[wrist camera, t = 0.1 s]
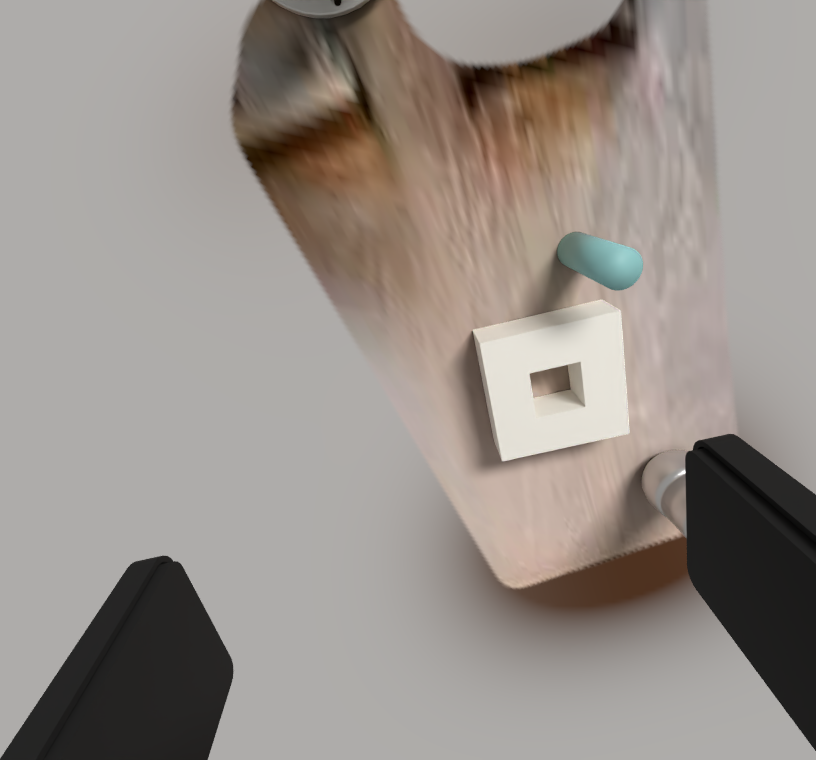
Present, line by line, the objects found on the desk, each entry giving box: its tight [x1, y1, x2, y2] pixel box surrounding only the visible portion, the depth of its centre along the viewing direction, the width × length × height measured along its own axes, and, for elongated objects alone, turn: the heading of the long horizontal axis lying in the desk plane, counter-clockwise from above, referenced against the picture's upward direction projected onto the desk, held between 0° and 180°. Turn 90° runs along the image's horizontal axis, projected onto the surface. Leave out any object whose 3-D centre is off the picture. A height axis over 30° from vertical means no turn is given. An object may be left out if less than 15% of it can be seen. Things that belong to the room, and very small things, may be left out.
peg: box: [557, 232, 643, 290], centre depth 39 cm, size 3×3×10 cm
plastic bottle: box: [641, 450, 688, 538], centre depth 43 cm, size 6×7×20 cm
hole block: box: [473, 299, 630, 462], centre depth 46 cm, size 12×12×4 cm
